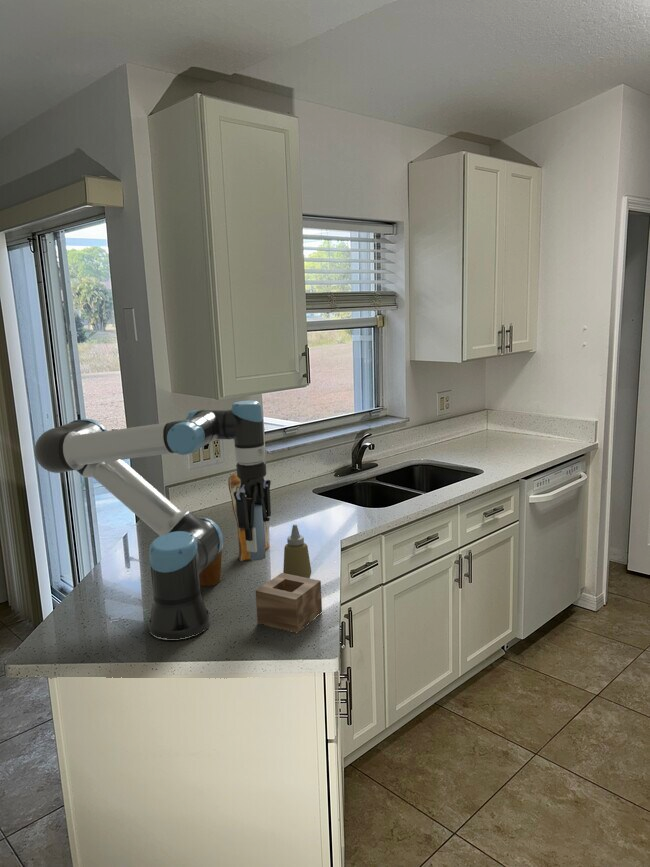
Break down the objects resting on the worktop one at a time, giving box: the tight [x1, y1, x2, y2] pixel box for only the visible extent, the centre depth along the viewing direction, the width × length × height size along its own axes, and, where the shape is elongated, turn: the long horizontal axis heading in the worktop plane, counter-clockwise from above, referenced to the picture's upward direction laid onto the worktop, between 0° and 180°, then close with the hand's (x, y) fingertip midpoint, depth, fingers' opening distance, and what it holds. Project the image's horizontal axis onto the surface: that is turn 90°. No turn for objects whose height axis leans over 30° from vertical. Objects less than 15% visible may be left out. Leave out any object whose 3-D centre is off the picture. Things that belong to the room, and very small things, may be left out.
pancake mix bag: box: [227, 471, 270, 562], centre depth 216 cm, size 7×19×28 cm, turn 153°
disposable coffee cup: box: [199, 544, 224, 587], centre depth 196 cm, size 10×10×12 cm
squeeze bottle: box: [282, 524, 312, 579], centre depth 191 cm, size 8×8×18 cm
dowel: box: [250, 504, 267, 561], centre depth 175 cm, size 4×4×14 cm
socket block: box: [255, 572, 323, 634], centre depth 172 cm, size 12×12×9 cm
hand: (257, 547), depth 176 cm, fingers closed on dowel, 4 cm apart
